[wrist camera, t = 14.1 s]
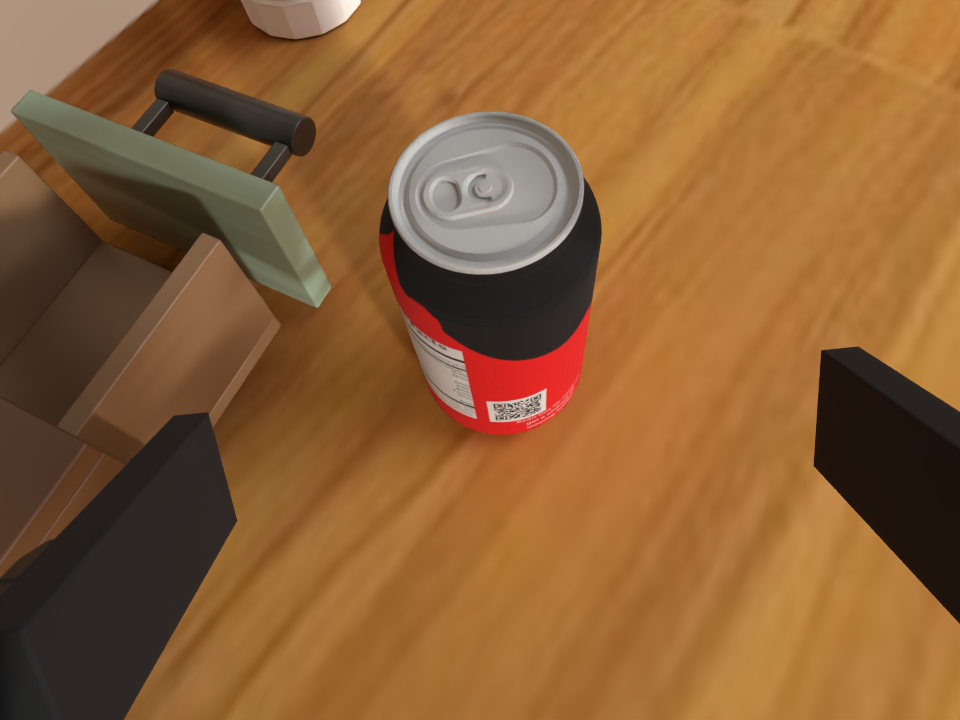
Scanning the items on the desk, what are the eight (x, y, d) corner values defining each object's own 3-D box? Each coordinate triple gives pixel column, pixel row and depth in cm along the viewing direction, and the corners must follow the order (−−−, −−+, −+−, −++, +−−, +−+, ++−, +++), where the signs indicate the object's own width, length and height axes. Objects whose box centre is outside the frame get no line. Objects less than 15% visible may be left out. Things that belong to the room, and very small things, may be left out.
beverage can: (597, 425, 28) (637, 263, 17) (441, 457, 28) (380, 314, 17) (560, 290, 30) (574, 75, 19) (417, 319, 30) (352, 118, 19)
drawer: (182, 130, 35) (104, 9, 28) (384, 206, 32) (348, 90, 26) (-100, 474, 28) (-282, 415, 22) (124, 608, 25) (-12, 584, 19)
